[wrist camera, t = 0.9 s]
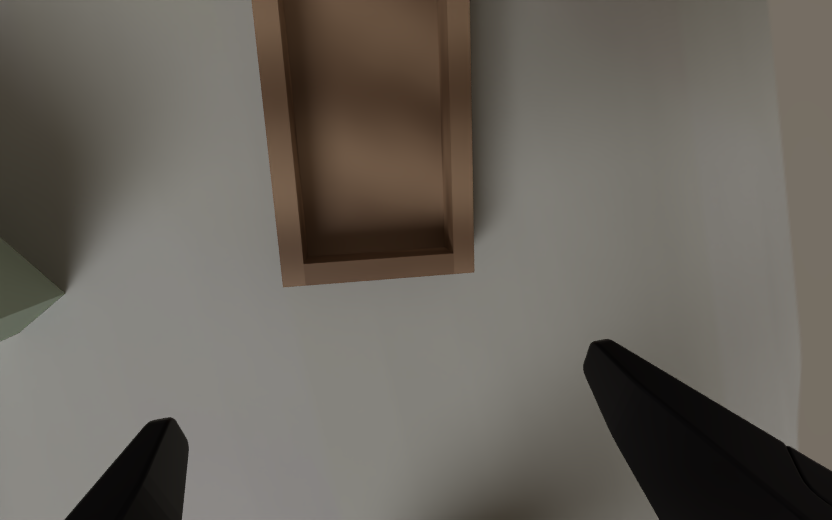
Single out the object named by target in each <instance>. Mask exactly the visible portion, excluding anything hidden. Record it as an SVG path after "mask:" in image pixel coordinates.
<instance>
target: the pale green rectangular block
mask: <svg viewBox="0 0 832 520" xmlns="http://www.w3.org/2000/svg"><path fill="white" fill-rule="evenodd" d="M64 294H65V293H64V292H63V291H62V290H61V289H59V288H58V287H57V286H56V285H55V284H54V283H52V282H51V281H50V280H49V279H48V278H47V277H46V276H44V275H43V274H42V273H41V272H40V271H39V270H37V269H36V268H35V267H34V266H33V265H32V264H31V263H29V262H28V261H27V260H26V259H25V258H24V257H22V256H21V255H20V254H19V253H18V252H17V251H16V250H14V249H13V248H12V247H11V246H10V245H9V244H7V243H6V242H5V241H4V240H3V239H2V238H0V341H2V340H5V339H7V338H9V337H11V336H14V335H16V334H18V333H20V332H21V331H22V330H23V329H24V328H25V327H27V326H28V325H29V324H30V323H31V322H33V321H34V320H35V319H36V318H37V317H38V316H40V315H41V314H42V313H43V312H44V311H45V310H47V309H48V308H49V307H50V306H51V305H52V304H54V303H55V302H56V301H57V300H58V299H59V298H61V297H62V296H63V295H64Z"/></svg>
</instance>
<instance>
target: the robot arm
mask: <svg viewBox="0 0 832 520" xmlns="http://www.w3.org/2000/svg"><path fill="white" fill-rule="evenodd" d="M583 370H584V374H585V377H586V379H587V381H588V383H589V386H590V388H591V390H592V392H593V395H594V397H595V399H596V401H597V404H598V406H599V408H600V410H601V413H602V415H603V417H604V419H605V422H606V424H607V426H608V428H609V430H610V432H611V435H612V437H613V438H614V440H615V442H616V444H617V446H618V448H619V449H620V451H621V453H622V455H623V456H624V458H625V460H626V462H627V463H628V465H629V467H630V469H631V470H632V472H633V474H634V476H635V477H636V479H637V481H638V483H639V484H640V486H641V488H642V490H643V492H644V493H645V495H646V497H647V499H648V500H649V502H650V504H651V506H652V507H653V509H654V511H655V513H656V514H657V516H658V518H659V520H832V471H830V470H829V469H827V468H825V467H824V466H822V465H820V464H819V463H817V462H815V461H813V460H812V459H810V458H808V457H807V456H805V455H803V454H802V453H800V452H798V451H797V450H795V449H793V448H792V447H790V446H786V445H785V444H784V443H783V442H781V441H780V440H778V439H776V438H775V437H773V436H771V435H770V434H768V433H766V432H765V431H763V430H761V429H760V428H758V427H756V426H755V425H753V424H751V423H750V422H748V421H746V420H745V419H743V418H741V417H740V416H738V415H736V414H735V413H733V412H731V411H730V410H728V409H726V408H725V407H723V406H721V405H720V404H718V403H716V402H714V401H713V400H711V399H709V398H708V397H706V396H704V395H703V394H701V393H699V392H698V391H696V390H694V389H693V388H691V387H689V386H688V385H686V384H684V383H683V382H681V381H679V380H678V379H676V378H674V377H673V376H671V375H669V374H668V373H666V372H664V371H663V370H661V369H659V368H658V367H656V366H654V365H653V364H651V363H649V362H648V361H646V360H644V359H643V358H641V357H639V356H638V355H636V354H634V353H633V352H631V351H629V350H628V349H626V348H624V347H623V346H621V345H619V344H618V343H616V342H614V341H612V340H610V339H603V340H598V341H593V342H592V343H591V344H590V346H589V349H588V352H587V355H586V358H585V361H584V364H583ZM188 453H189V446H188V441H187V439H186V437H185V435H184V433H183V432H182V430H181V428H180V427H179V425H178V423H177V422H176V420H175V419H173V418H171V417H168V418H163V419H157V420H153V421H150V422H149V423H147V424H146V425H145V426H144V427H143V428H142V430H141V431H140V432H139V433H138V434H137V435H136V437H135V438H134V439H133V440H132V441H131V442H130V444H129V445H128V446H127V447H126V448H125V449H124V451H123V452H122V453H121V454H120V455H119V456H118V458H117V459H116V460H115V461H114V462H113V463H112V465H111V466H110V467H109V468H108V469H107V471H106V472H105V473H104V474H103V475H102V476H101V478H100V479H99V480H98V481H97V482H96V483H95V485H94V486H93V487H92V488H91V489H90V490H89V492H88V493H87V494H86V495H85V496H84V497H83V499H82V500H81V501H80V502H79V503H78V504H77V506H76V507H75V508H74V509H73V510H72V511H71V513H70V514H69V515H68V516H67V517H66V518H65V520H182V513H183V503H184V493H185V483H186V473H187V463H188Z"/></svg>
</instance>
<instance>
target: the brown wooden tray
mask: <svg viewBox="0 0 832 520" xmlns="http://www.w3.org/2000/svg"><path fill="white" fill-rule="evenodd" d="M252 8H253V17H254V26H255V35H256V44H257V54H258V63H259V72H260V81H261V90H262V99H263V108H264V117H265V126H266V136H267V145H268V154H269V163H270V172H271V181H272V190H273V199H274V209H275V218H276V227H277V236H278V245H279V254H280V263H281V272H282V282H283V287H293V286H306V285H319V284H331V283H344V282H357V281H370V280H382V279H395V278H408V277H421V276H433V275H446V274H459V273H472V272H474V223H473V165H472V106H471V47H470V0H252Z"/></svg>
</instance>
